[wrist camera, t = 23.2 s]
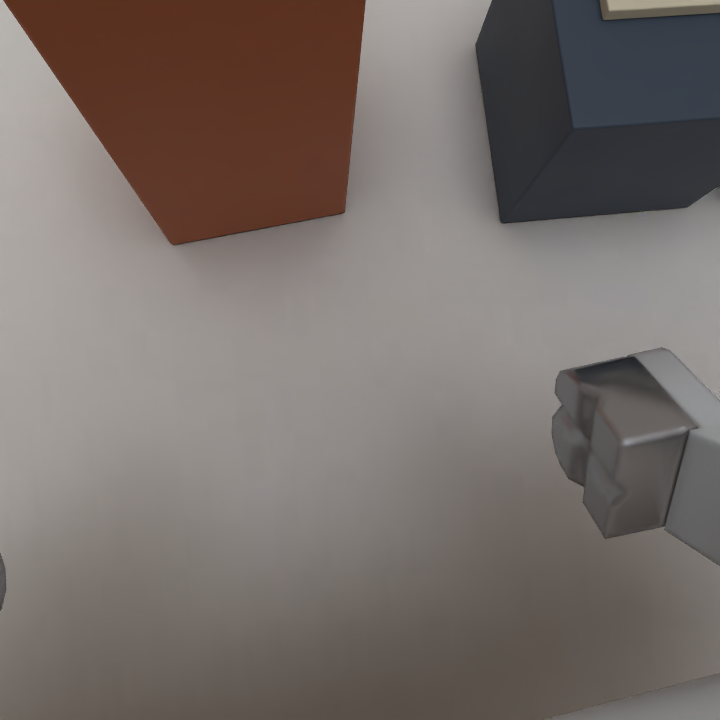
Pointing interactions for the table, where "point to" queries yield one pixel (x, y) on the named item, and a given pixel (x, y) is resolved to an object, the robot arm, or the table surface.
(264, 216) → the i letter block
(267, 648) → the table surface
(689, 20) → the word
